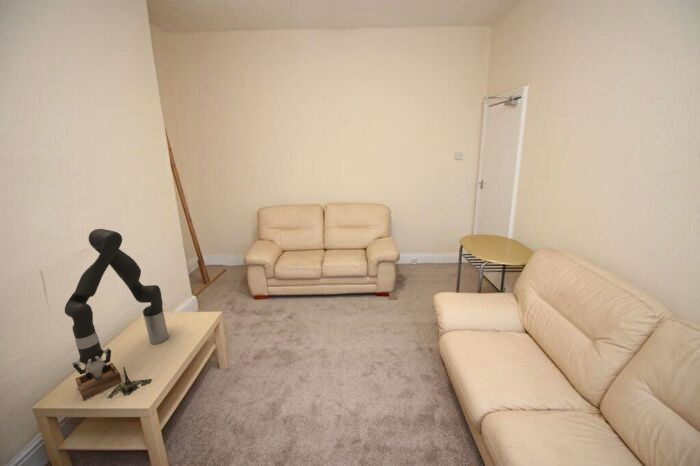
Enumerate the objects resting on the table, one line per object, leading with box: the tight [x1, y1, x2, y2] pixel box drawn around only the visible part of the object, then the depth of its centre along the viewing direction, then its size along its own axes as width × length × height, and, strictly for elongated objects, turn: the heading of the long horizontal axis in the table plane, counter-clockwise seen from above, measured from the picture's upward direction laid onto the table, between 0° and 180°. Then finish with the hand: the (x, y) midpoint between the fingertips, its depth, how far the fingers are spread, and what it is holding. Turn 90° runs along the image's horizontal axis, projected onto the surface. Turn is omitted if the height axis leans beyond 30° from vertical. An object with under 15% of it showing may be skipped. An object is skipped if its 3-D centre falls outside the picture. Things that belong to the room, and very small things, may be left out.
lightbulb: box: [88, 360, 104, 381], centre depth 141 cm, size 6×6×11 cm
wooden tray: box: [75, 362, 123, 401], centre depth 142 cm, size 12×14×5 cm
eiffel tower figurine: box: [106, 364, 153, 399], centre depth 138 cm, size 15×10×13 cm
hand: (97, 375), depth 141 cm, fingers closed on lightbulb, 4 cm apart
